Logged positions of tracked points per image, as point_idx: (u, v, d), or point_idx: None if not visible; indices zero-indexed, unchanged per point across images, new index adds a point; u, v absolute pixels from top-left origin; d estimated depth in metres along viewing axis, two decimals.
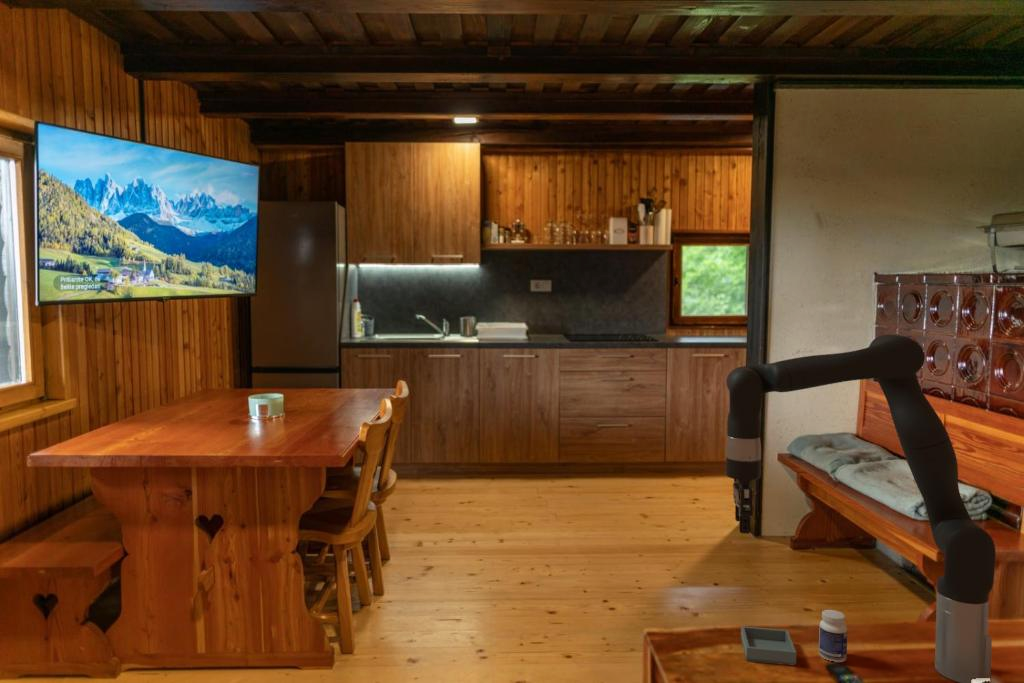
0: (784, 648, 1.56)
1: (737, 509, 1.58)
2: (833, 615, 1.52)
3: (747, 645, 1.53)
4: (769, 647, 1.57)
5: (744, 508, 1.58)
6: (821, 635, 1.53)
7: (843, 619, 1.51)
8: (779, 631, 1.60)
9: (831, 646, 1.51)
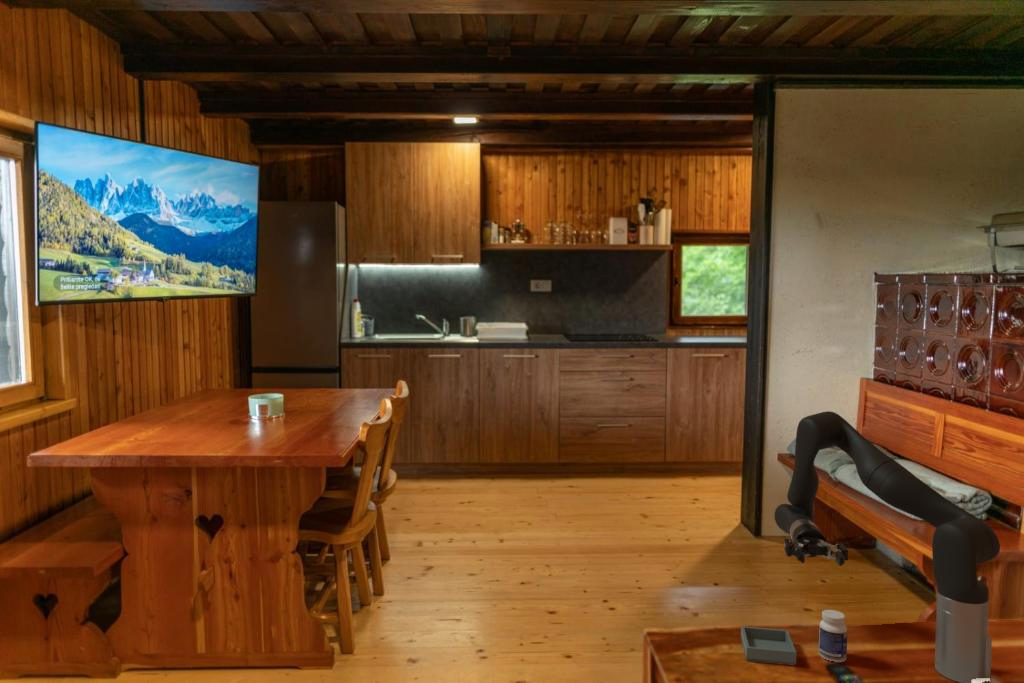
0: (784, 648, 1.56)
1: (836, 560, 1.65)
2: (833, 615, 1.52)
3: (747, 645, 1.53)
4: (769, 647, 1.57)
5: (836, 553, 1.65)
6: (821, 635, 1.53)
7: (843, 619, 1.51)
8: (779, 631, 1.60)
9: (831, 646, 1.51)
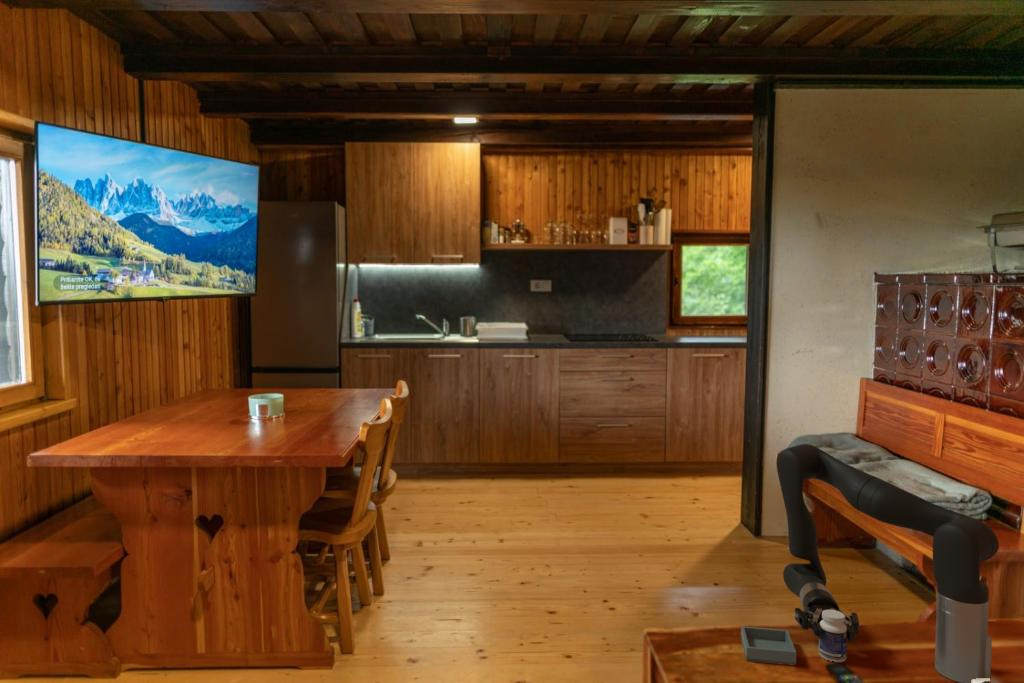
0: (784, 648, 1.56)
1: None
2: (833, 615, 1.52)
3: (747, 645, 1.53)
4: (769, 647, 1.57)
5: (846, 626, 1.53)
6: None
7: (843, 619, 1.51)
8: (779, 631, 1.60)
9: (831, 646, 1.51)
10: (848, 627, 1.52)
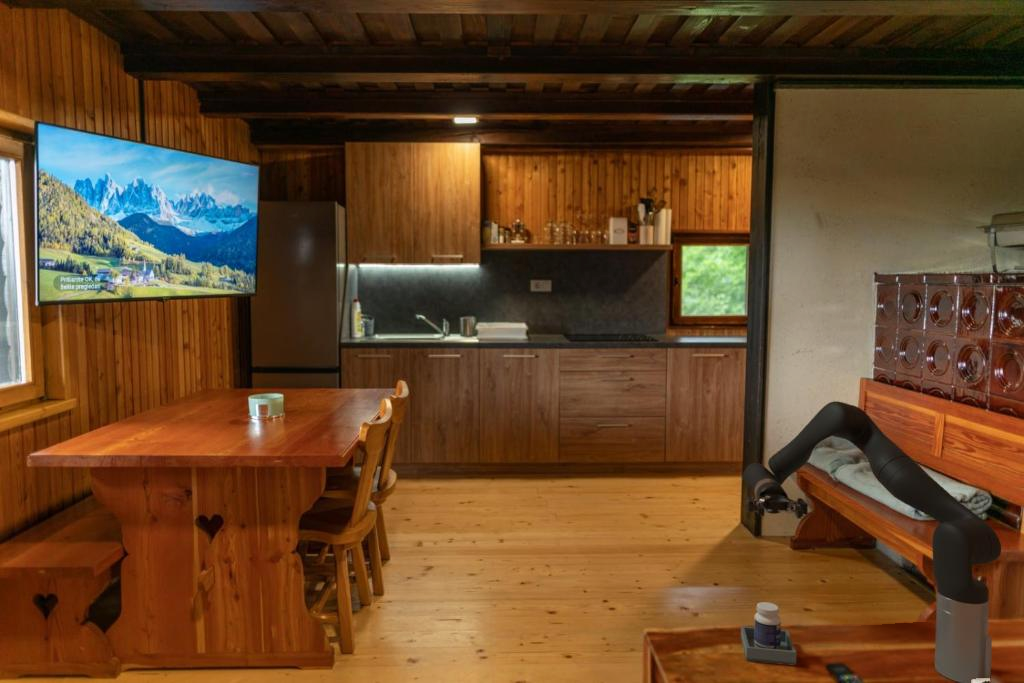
0: (784, 648, 1.56)
1: (795, 513, 1.70)
2: (767, 607, 1.55)
3: (747, 645, 1.53)
4: None
5: (795, 507, 1.70)
6: (755, 627, 1.56)
7: (776, 611, 1.54)
8: None
9: (764, 638, 1.54)
10: (797, 507, 1.69)
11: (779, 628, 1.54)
